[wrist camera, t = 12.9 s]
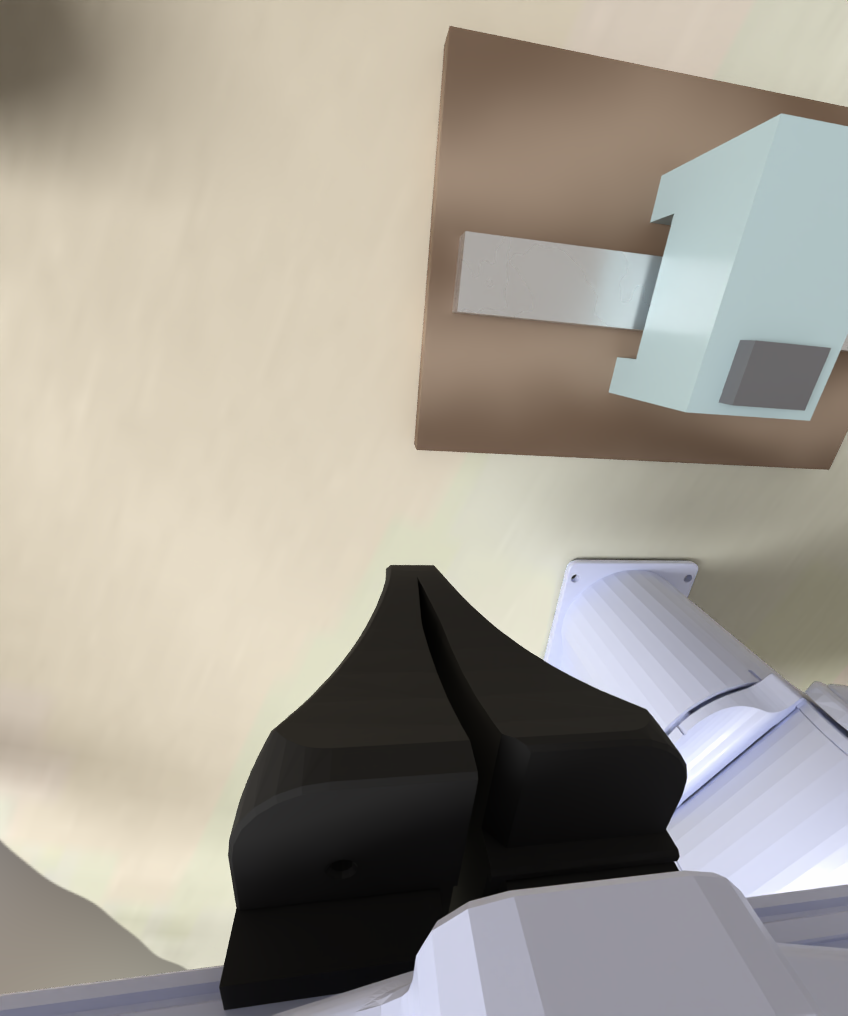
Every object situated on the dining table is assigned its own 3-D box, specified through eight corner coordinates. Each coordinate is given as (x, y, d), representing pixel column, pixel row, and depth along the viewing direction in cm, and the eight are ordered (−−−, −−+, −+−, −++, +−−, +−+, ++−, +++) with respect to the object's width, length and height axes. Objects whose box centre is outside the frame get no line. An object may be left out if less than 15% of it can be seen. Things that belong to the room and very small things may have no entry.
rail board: (810, 464, 23) (849, 475, 21) (414, 444, 20) (419, 456, 18) (955, 145, 18) (1023, 124, 16) (444, 45, 14) (456, 3, 13)
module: (706, 399, 20) (826, 424, 15) (608, 392, 19) (698, 415, 14) (775, 193, 17) (958, 133, 11) (661, 175, 16) (802, 102, 11)
